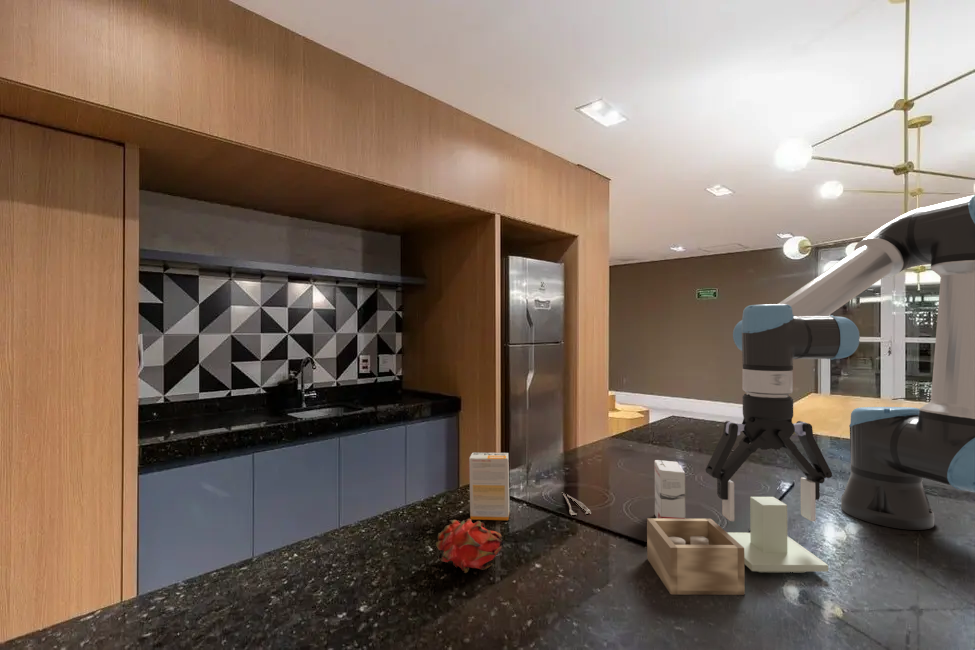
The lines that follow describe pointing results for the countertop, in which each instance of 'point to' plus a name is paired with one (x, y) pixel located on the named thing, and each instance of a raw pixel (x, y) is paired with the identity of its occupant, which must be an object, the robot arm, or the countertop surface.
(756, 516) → the lid
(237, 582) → the countertop surface
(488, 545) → the dragon fruit
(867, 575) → the countertop surface
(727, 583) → the storage box
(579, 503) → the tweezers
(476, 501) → the supplement box
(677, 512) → the ink box
